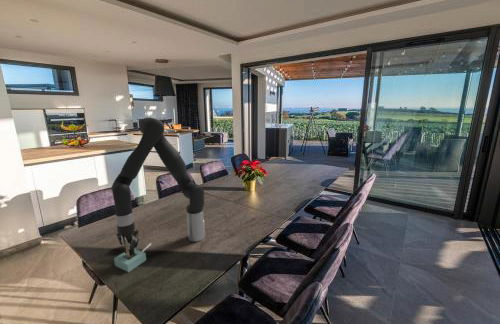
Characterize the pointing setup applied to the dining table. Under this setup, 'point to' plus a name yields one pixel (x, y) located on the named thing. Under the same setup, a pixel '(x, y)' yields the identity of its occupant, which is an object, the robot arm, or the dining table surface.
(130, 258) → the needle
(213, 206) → the dining table surface
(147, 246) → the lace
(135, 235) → the cup
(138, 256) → the teal open tray
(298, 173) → the dining table surface
